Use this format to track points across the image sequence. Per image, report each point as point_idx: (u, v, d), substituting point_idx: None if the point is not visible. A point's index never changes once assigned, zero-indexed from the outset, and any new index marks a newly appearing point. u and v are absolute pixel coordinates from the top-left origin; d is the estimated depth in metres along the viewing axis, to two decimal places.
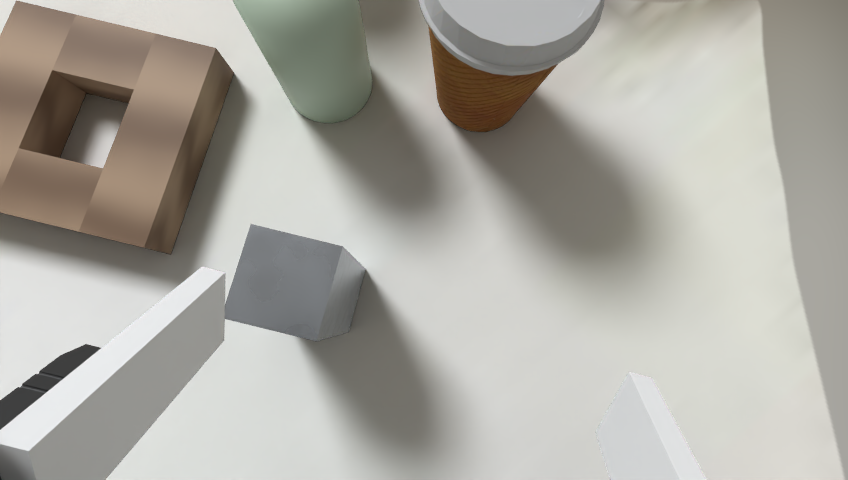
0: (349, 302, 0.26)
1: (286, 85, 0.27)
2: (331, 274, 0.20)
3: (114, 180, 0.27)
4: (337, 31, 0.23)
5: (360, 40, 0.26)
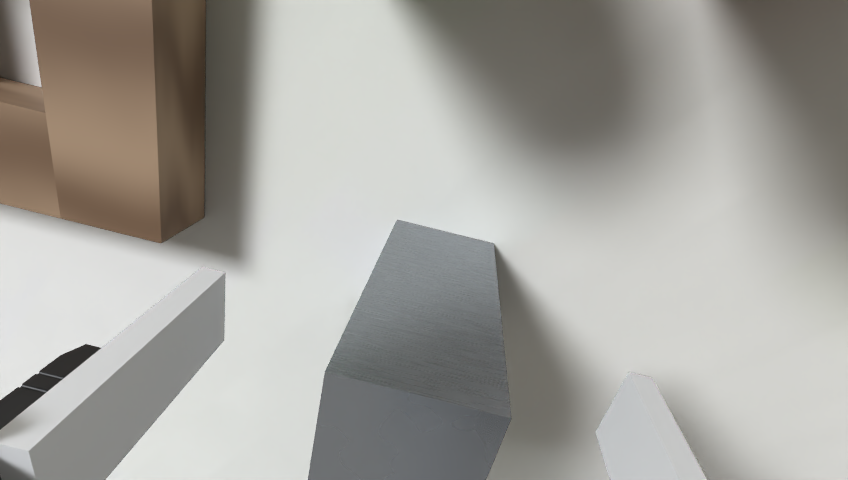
0: None
1: None
2: (488, 457, 0.10)
3: (72, 134, 0.16)
4: None
5: None
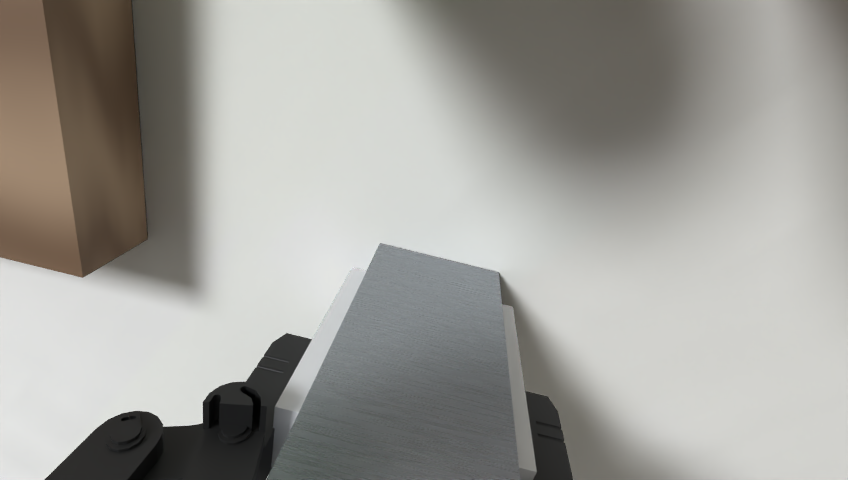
0: None
1: None
2: None
3: None
4: None
5: None
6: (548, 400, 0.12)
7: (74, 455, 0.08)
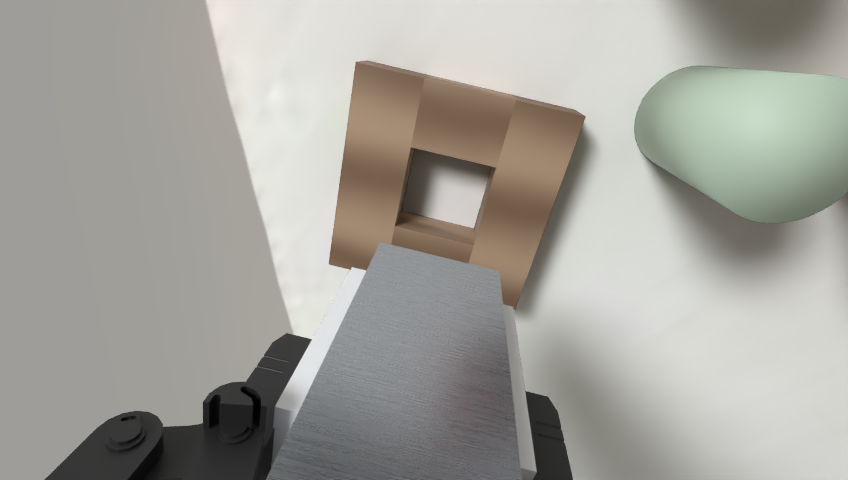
0: None
1: (676, 176, 0.25)
2: None
3: (485, 255, 0.30)
4: None
5: None
6: (548, 399, 0.12)
7: (74, 455, 0.08)
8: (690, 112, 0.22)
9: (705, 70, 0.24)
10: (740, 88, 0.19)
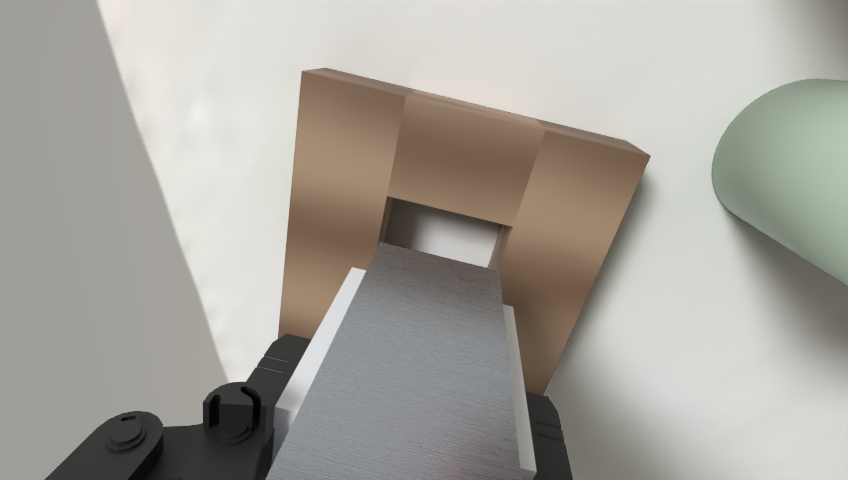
0: None
1: (789, 248, 0.16)
2: None
3: None
4: None
5: None
6: (548, 400, 0.12)
7: (74, 455, 0.08)
8: (847, 160, 0.13)
9: None
10: None
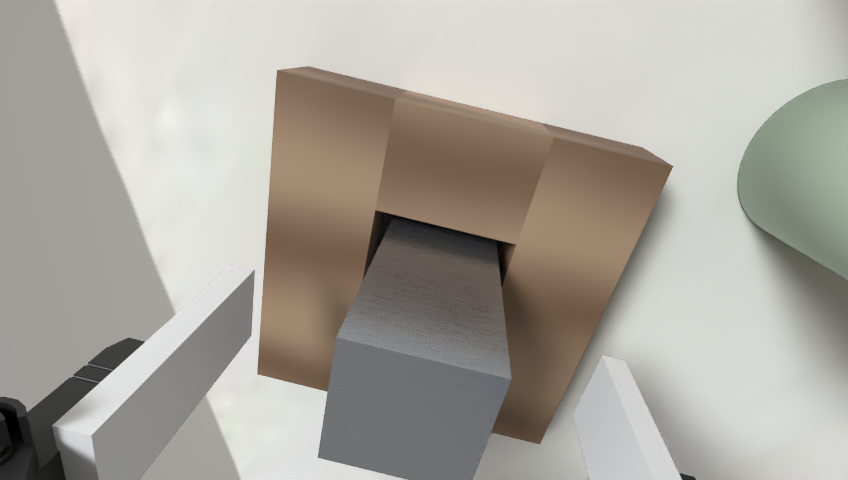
0: None
1: (832, 269, 0.14)
2: (489, 417, 0.11)
3: None
4: None
5: None
6: None
7: None
8: None
9: None
10: None
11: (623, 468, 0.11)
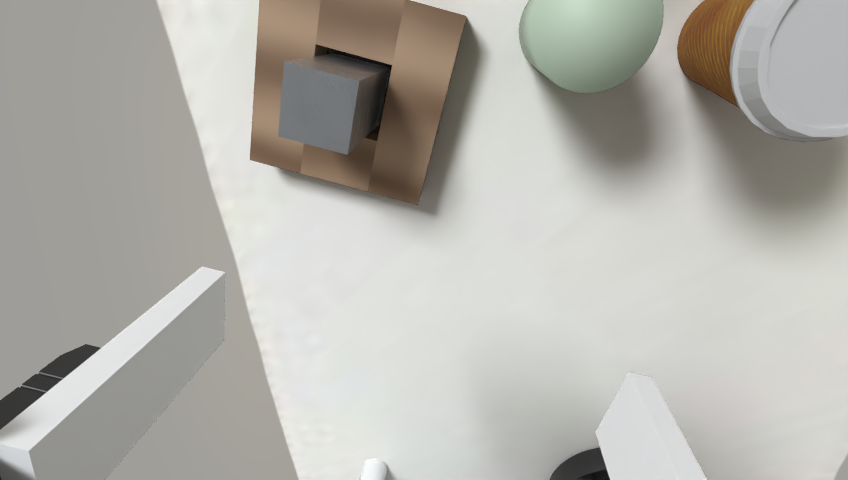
0: (375, 106, 0.32)
1: None
2: (352, 104, 0.25)
3: (387, 151, 0.33)
4: None
5: None
6: None
7: None
8: None
9: None
10: None
11: None
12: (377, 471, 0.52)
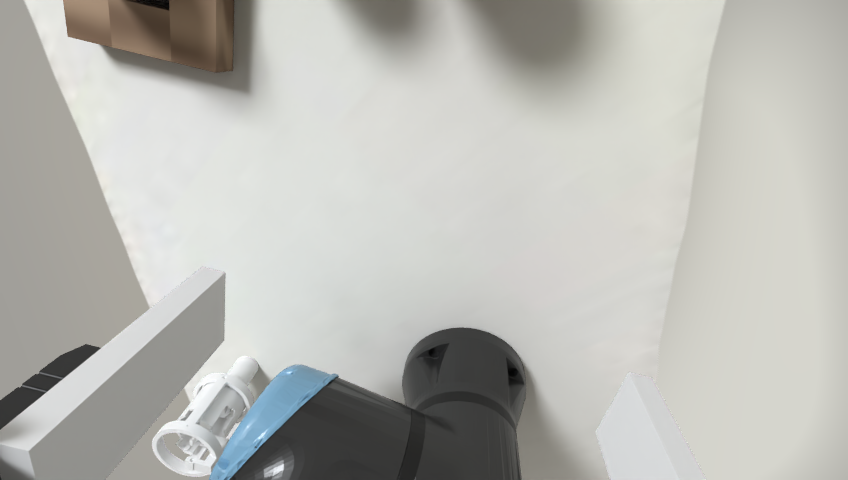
0: None
1: None
2: None
3: (180, 20, 0.38)
4: None
5: None
6: None
7: None
8: None
9: None
10: None
11: None
12: (245, 365, 0.56)
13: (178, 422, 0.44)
